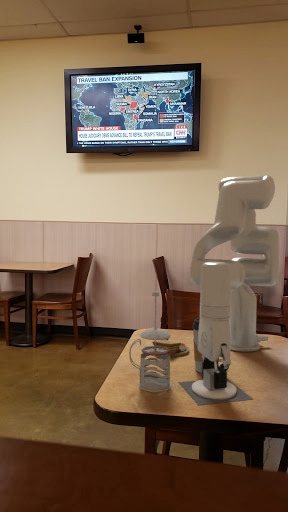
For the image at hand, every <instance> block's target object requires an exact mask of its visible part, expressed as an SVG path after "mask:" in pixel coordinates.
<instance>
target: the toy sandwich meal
mask: <svg viewBox="0 0 288 512" xmlns="http://www.w3.org/2000/svg"><path fill="white" fill-rule="evenodd" d="M169 339H170V338H168V339H165V340H156V346H158V347H165V348H168V350H169V352H168V353H167V354H169V355H170V357H181V356H184V355H186V354H188V352H189V351H190V348H189V347H188V346H187V345H186V344H184V343H183V342H180V341H173V340H169ZM151 343H152V346H155V340H153V341H152V342H151Z"/></svg>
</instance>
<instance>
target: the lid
mask: <svg viewBox="0 0 288 512" xmlns="http://www.w3.org/2000/svg"><path fill="white" fill-rule="evenodd" d="M214 372H216V371H215V369H204V373H203V377H202V379H200V380H199V379H198V381H197V380H195V381H196V382H194V383H193V384H192V391H193V392H194V393H195V394H196V395H198V396H200V397H203V398H207V399H214V400H223V399H229V398H232V397H234V396H235V395H236V387H235V386H234V385H233V384H231V383H229V382H227V387H226V388H220V389H215V388H214Z"/></svg>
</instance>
